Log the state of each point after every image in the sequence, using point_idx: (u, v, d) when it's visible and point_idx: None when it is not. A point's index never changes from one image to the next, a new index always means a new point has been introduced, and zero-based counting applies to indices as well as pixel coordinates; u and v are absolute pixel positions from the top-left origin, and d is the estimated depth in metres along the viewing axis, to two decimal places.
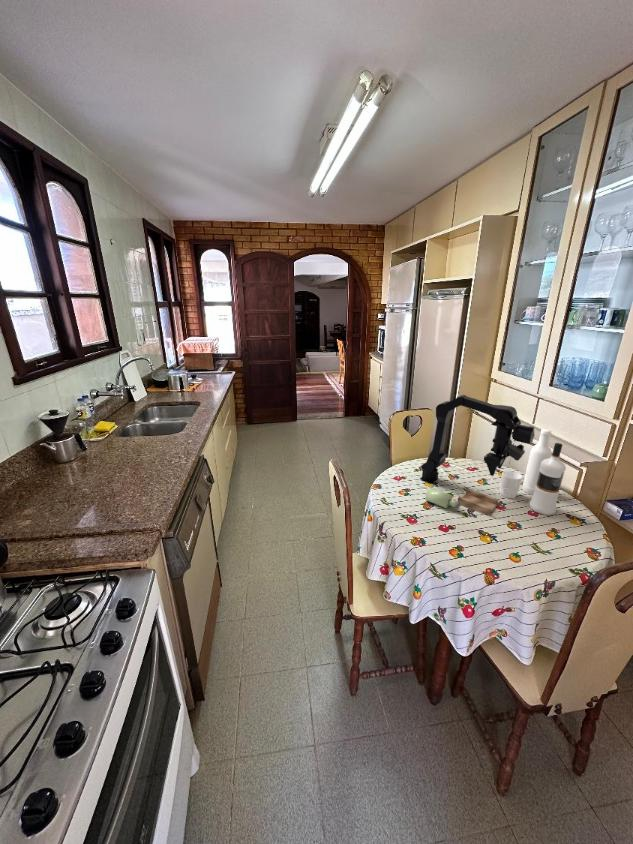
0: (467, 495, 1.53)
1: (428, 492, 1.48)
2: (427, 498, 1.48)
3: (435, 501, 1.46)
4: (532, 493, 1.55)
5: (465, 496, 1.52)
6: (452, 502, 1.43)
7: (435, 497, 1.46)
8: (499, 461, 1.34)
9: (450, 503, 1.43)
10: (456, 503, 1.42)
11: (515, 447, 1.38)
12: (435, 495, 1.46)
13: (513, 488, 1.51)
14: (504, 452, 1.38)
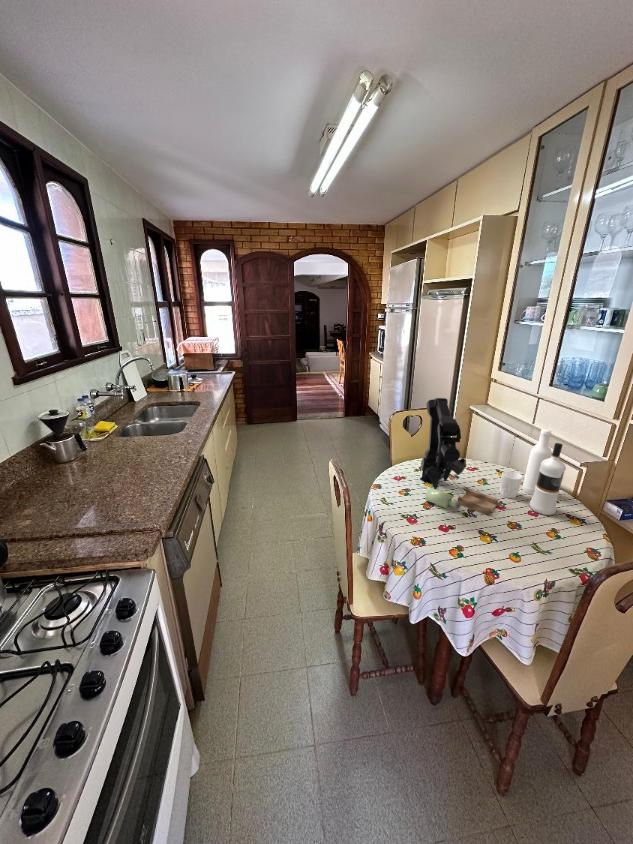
0: (467, 495, 1.53)
1: (428, 492, 1.48)
2: (427, 498, 1.48)
3: (435, 501, 1.46)
4: (532, 493, 1.55)
5: (465, 496, 1.52)
6: (452, 502, 1.43)
7: (435, 497, 1.46)
8: (439, 475, 1.35)
9: (450, 503, 1.43)
10: (456, 503, 1.42)
11: (457, 461, 1.39)
12: (434, 495, 1.46)
13: (513, 488, 1.51)
14: (446, 466, 1.39)
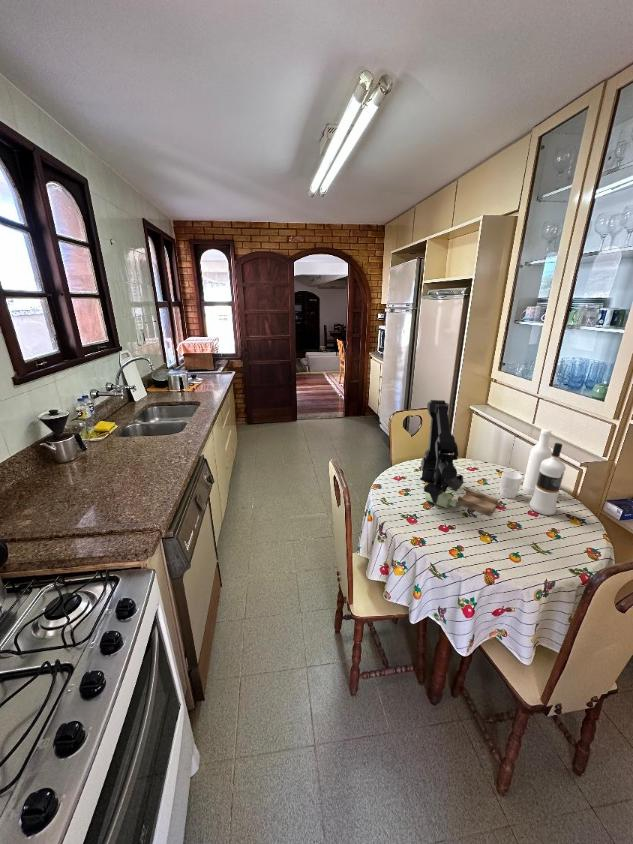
0: (467, 495, 1.53)
1: None
2: (427, 498, 1.48)
3: None
4: (532, 493, 1.55)
5: (465, 496, 1.52)
6: (452, 502, 1.43)
7: None
8: (437, 492, 1.37)
9: (450, 503, 1.43)
10: (456, 503, 1.42)
11: (454, 478, 1.41)
12: None
13: (513, 488, 1.51)
14: (443, 482, 1.41)
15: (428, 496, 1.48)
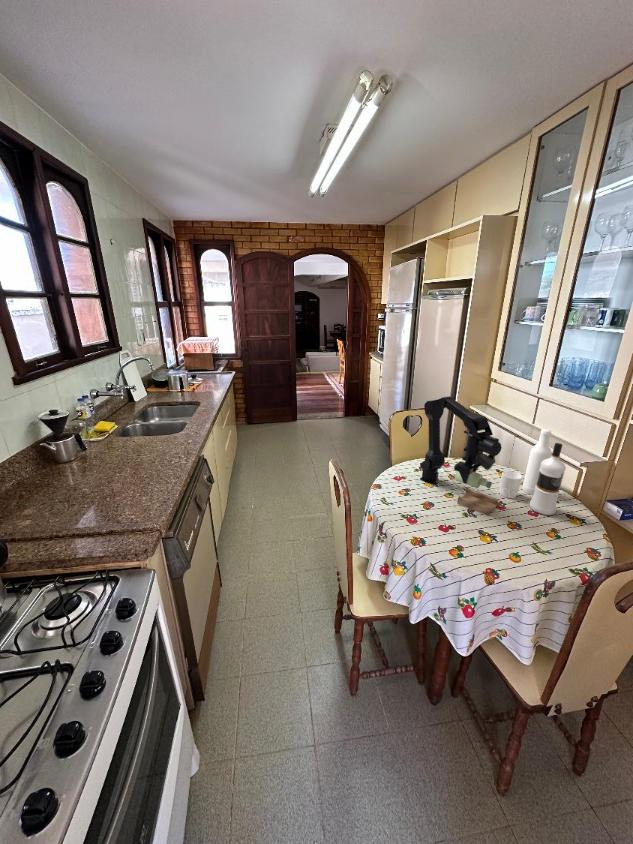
0: (467, 495, 1.53)
1: (458, 472, 1.45)
2: (457, 478, 1.45)
3: None
4: (532, 493, 1.55)
5: (465, 496, 1.52)
6: (483, 481, 1.40)
7: None
8: (468, 470, 1.34)
9: (481, 483, 1.40)
10: (487, 482, 1.38)
11: (486, 456, 1.38)
12: None
13: (513, 488, 1.51)
14: (475, 461, 1.38)
15: (458, 476, 1.45)
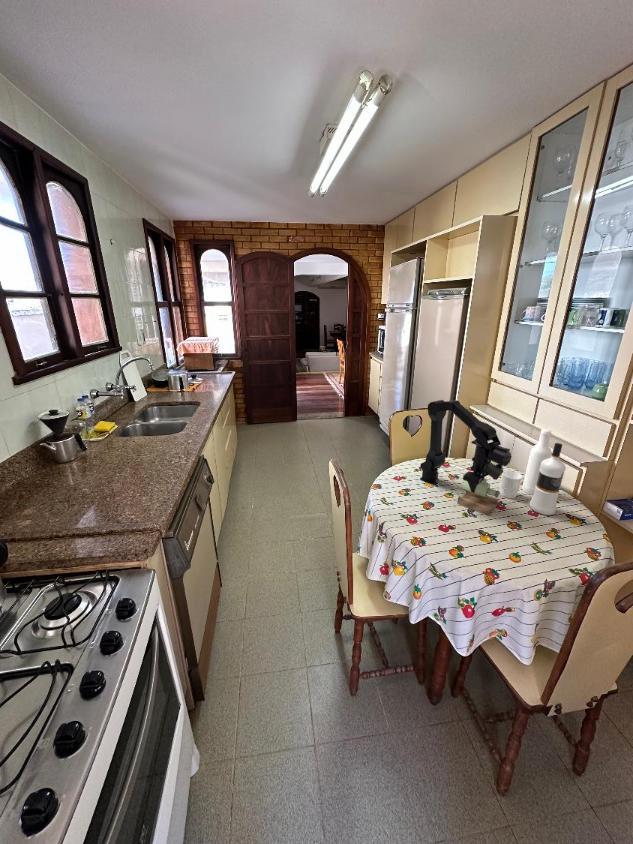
0: (467, 495, 1.53)
1: (466, 481, 1.47)
2: (465, 487, 1.47)
3: None
4: (532, 493, 1.55)
5: (465, 496, 1.52)
6: (491, 491, 1.42)
7: None
8: (477, 480, 1.36)
9: (489, 492, 1.42)
10: (496, 492, 1.41)
11: (494, 466, 1.40)
12: None
13: (513, 488, 1.51)
14: (483, 471, 1.40)
15: (466, 485, 1.46)
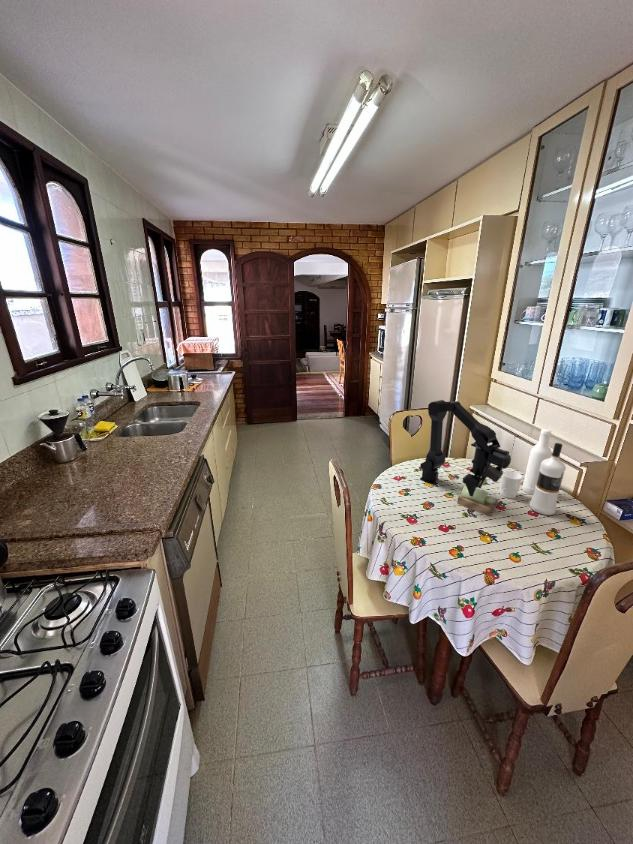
0: None
1: (464, 489, 1.48)
2: (463, 495, 1.48)
3: (472, 498, 1.46)
4: (532, 493, 1.55)
5: None
6: (489, 499, 1.43)
7: None
8: (477, 483, 1.36)
9: (487, 500, 1.43)
10: (494, 500, 1.42)
11: (493, 469, 1.40)
12: None
13: (513, 488, 1.51)
14: (483, 473, 1.40)
15: (464, 494, 1.48)
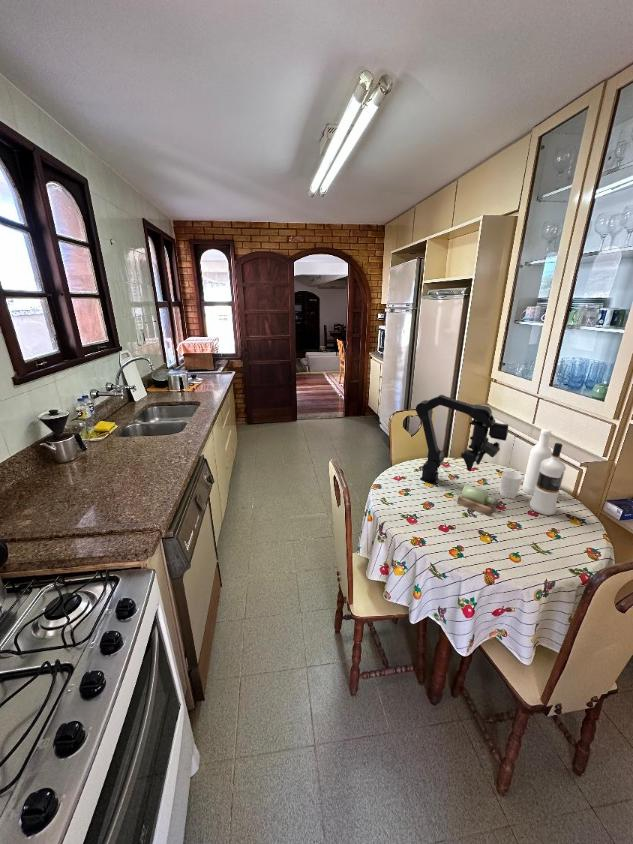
0: None
1: (465, 489, 1.48)
2: (463, 495, 1.48)
3: (472, 498, 1.46)
4: (532, 493, 1.55)
5: None
6: (490, 499, 1.43)
7: (472, 494, 1.46)
8: (474, 457, 1.44)
9: (488, 500, 1.43)
10: (494, 500, 1.42)
11: (491, 444, 1.48)
12: (472, 491, 1.46)
13: (513, 488, 1.51)
14: (480, 449, 1.48)
15: (465, 493, 1.48)
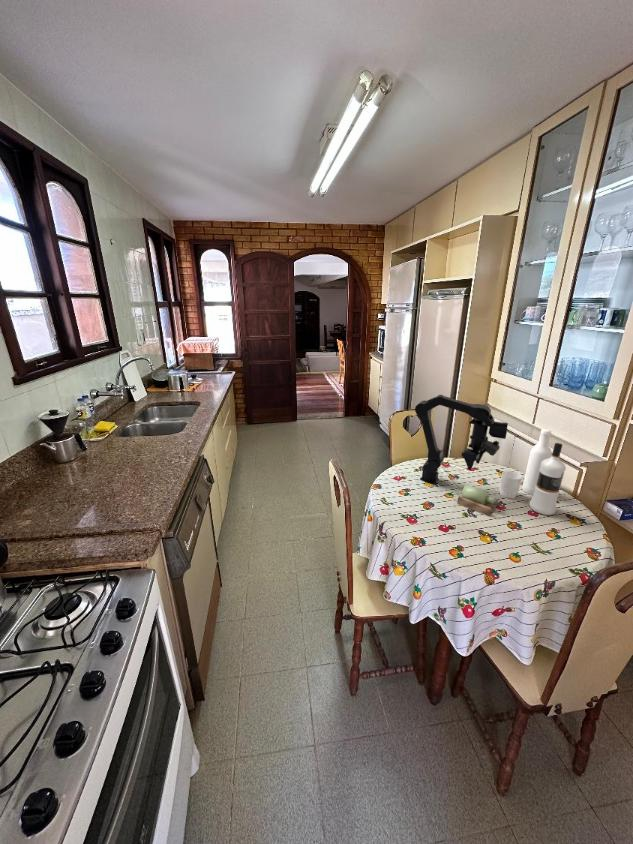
0: None
1: (465, 488, 1.49)
2: (464, 494, 1.49)
3: (472, 497, 1.46)
4: (532, 493, 1.55)
5: None
6: (490, 498, 1.43)
7: (473, 493, 1.46)
8: (475, 456, 1.45)
9: (488, 499, 1.44)
10: (494, 499, 1.42)
11: (491, 443, 1.49)
12: (472, 490, 1.47)
13: (513, 488, 1.51)
14: (480, 448, 1.48)
15: (465, 492, 1.48)
